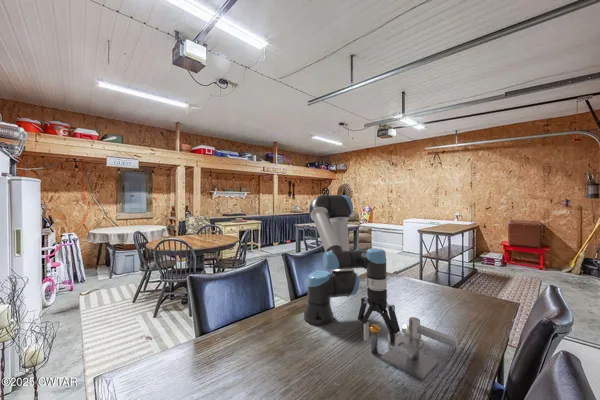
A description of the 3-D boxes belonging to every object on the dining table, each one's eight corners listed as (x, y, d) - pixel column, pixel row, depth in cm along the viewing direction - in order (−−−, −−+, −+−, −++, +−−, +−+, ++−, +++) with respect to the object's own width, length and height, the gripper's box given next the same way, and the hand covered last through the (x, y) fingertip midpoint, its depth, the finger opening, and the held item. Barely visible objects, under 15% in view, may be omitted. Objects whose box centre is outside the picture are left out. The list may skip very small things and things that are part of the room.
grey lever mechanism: (379, 360, 100) (380, 321, 100) (398, 345, 110) (398, 310, 110) (443, 394, 83) (445, 348, 83) (459, 373, 93) (460, 332, 93)
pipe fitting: (409, 344, 112) (421, 340, 114) (409, 336, 112) (421, 332, 114) (396, 335, 119) (408, 331, 122) (396, 326, 119) (407, 323, 121)
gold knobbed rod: (366, 352, 105) (367, 326, 105) (372, 348, 108) (373, 323, 108) (376, 357, 102) (376, 330, 102) (381, 352, 105) (382, 327, 105)
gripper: (348, 284, 110) (349, 336, 109) (399, 297, 93) (401, 359, 93) (358, 280, 115) (359, 330, 114) (408, 292, 98) (410, 351, 98)
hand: (378, 343), depth 104 cm, fingers open, 10 cm apart
